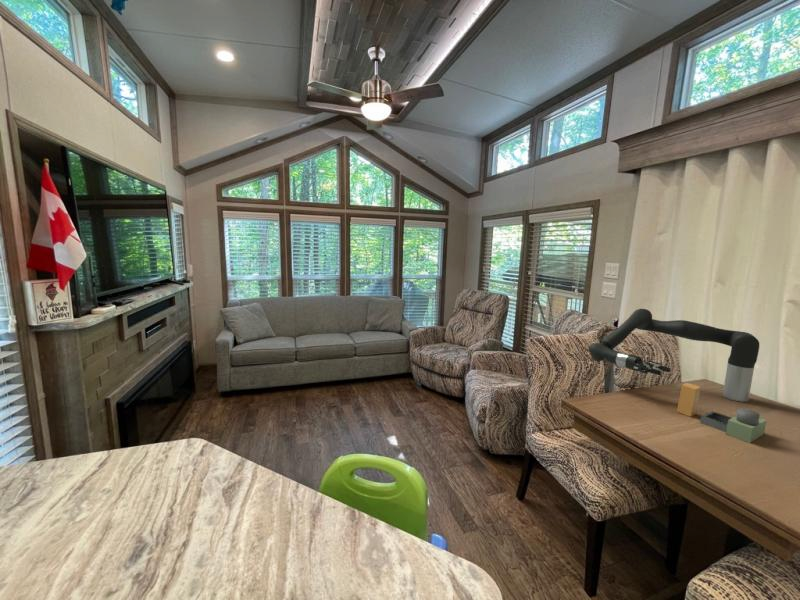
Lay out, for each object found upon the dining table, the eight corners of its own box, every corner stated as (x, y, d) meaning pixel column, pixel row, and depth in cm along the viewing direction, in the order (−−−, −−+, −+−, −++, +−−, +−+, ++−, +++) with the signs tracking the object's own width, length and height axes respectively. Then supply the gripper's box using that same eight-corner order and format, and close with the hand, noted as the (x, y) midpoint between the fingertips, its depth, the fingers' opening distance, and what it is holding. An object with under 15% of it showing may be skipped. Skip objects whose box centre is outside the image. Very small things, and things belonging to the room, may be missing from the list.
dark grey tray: (711, 417, 147) (712, 411, 147) (738, 426, 140) (739, 420, 139) (700, 422, 143) (701, 416, 142) (728, 432, 135) (729, 425, 135)
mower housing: (739, 425, 141) (743, 403, 139) (764, 433, 134) (768, 410, 133) (725, 433, 134) (728, 410, 133) (749, 443, 128) (754, 418, 126)
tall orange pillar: (682, 409, 155) (687, 382, 152) (695, 414, 150) (700, 387, 148) (676, 411, 152) (681, 384, 150) (690, 416, 148) (695, 389, 146)
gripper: (635, 366, 175) (671, 376, 161) (619, 370, 169) (656, 382, 155) (637, 352, 174) (674, 361, 160) (621, 356, 168) (658, 366, 153)
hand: (665, 371), depth 157 cm, fingers open, 8 cm apart
